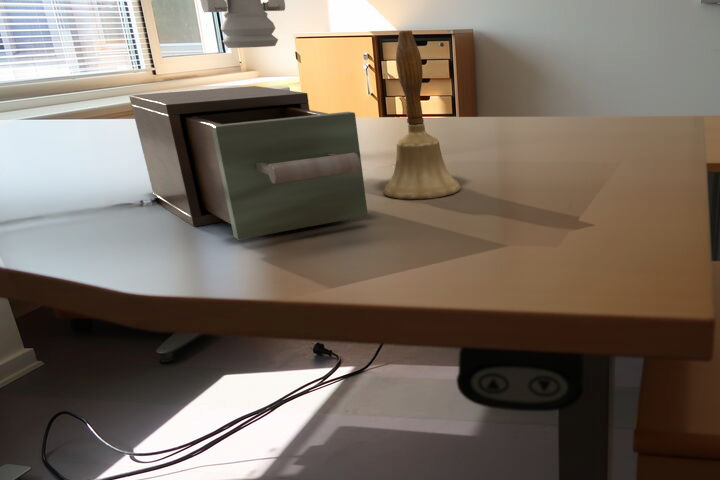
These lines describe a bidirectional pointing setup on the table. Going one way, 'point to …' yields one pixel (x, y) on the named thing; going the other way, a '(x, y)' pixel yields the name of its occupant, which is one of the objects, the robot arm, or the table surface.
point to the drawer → (276, 168)
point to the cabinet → (169, 146)
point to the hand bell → (416, 137)
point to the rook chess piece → (247, 25)
